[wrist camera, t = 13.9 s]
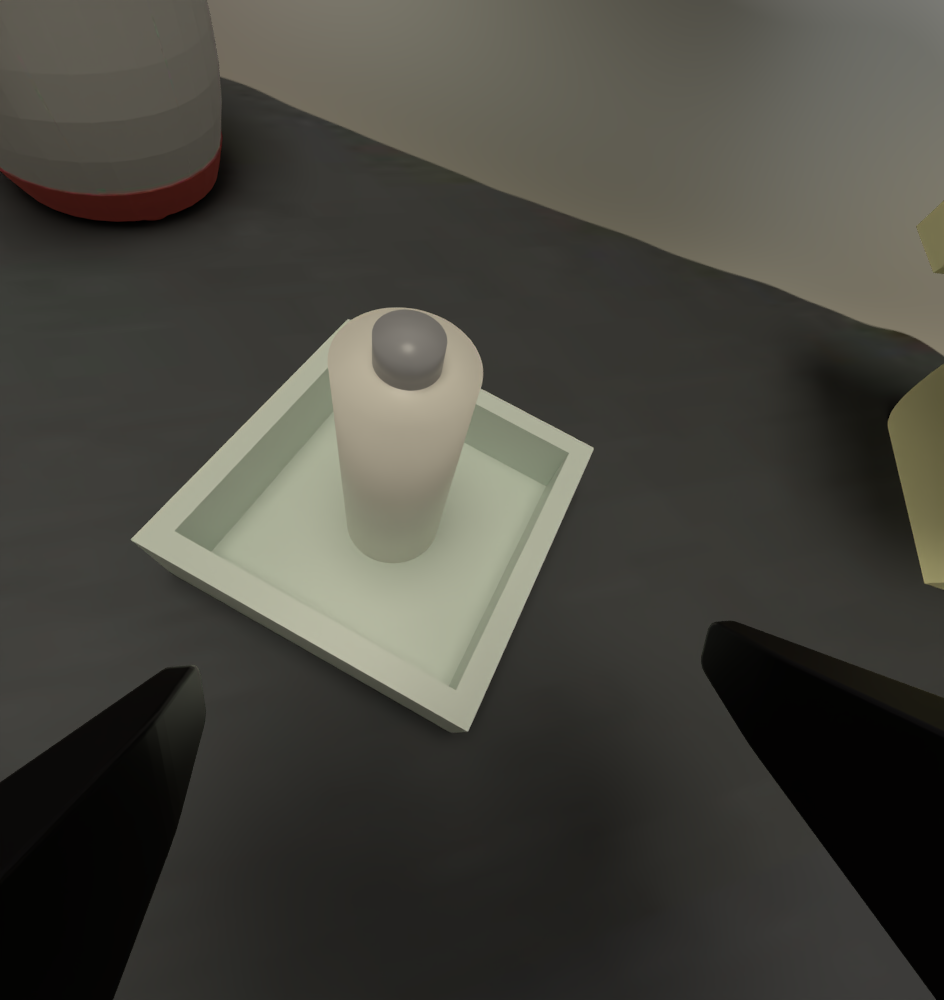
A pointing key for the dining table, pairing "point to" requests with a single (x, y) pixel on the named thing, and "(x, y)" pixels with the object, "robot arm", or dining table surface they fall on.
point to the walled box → (358, 578)
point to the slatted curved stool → (924, 438)
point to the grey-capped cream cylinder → (400, 424)
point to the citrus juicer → (110, 105)
